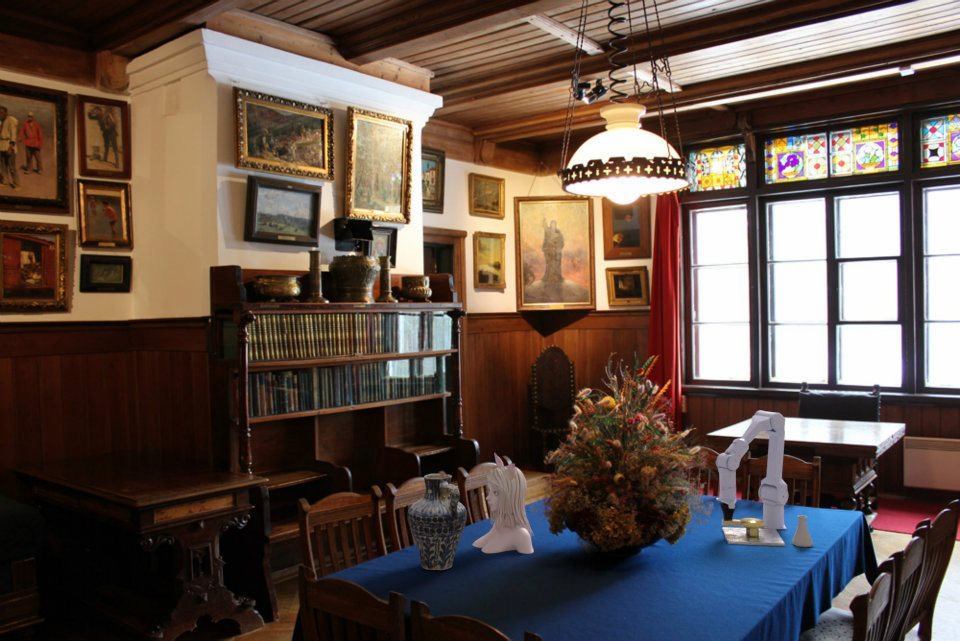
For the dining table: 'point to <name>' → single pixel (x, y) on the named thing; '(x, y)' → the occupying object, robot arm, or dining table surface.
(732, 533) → the base plate
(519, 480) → the figurine bust
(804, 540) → the flask
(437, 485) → the jug
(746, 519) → the gold bar with disc
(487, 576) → the dining table surface
